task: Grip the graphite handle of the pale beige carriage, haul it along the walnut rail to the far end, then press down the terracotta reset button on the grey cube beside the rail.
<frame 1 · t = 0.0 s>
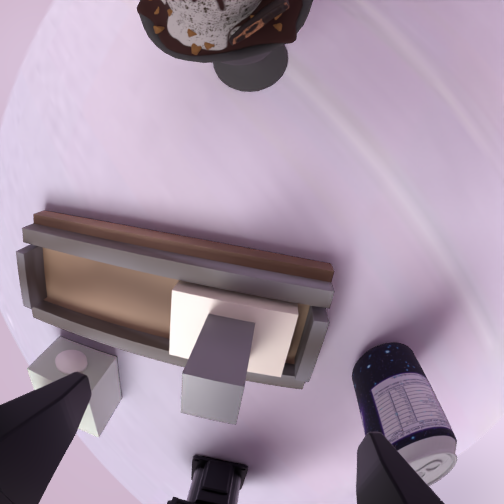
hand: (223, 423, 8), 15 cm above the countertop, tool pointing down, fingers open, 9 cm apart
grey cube: (90, 368, 28), on the countertop
rail: (161, 293, 24), on the countertop
sundae: (249, 59, 18), on the countertop
carriage: (223, 355, 18), point 6 cm above the countertop, slide at 0.0 cm
beverage can: (381, 362, 24), on the countertop
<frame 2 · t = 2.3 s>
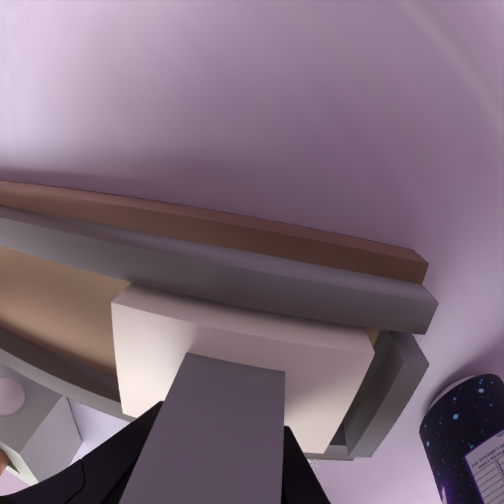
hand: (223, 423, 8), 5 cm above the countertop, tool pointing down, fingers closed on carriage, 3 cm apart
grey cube: (37, 401, 17), on the countertop
rail: (114, 304, 13), on the countertop
carriage: (218, 442, 8), point 6 cm above the countertop, slide at 0.0 cm, touching gripper
beverage can: (456, 400, 14), on the countertop
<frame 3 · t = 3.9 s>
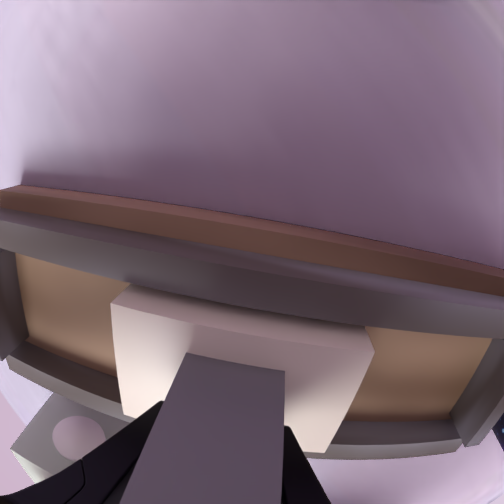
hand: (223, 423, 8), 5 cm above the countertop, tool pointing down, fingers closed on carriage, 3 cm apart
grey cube: (107, 434, 17), on the countertop
rail: (246, 335, 13), on the countertop
carriage: (219, 442, 8), point 6 cm above the countertop, slide at 6.1 cm, touching gripper
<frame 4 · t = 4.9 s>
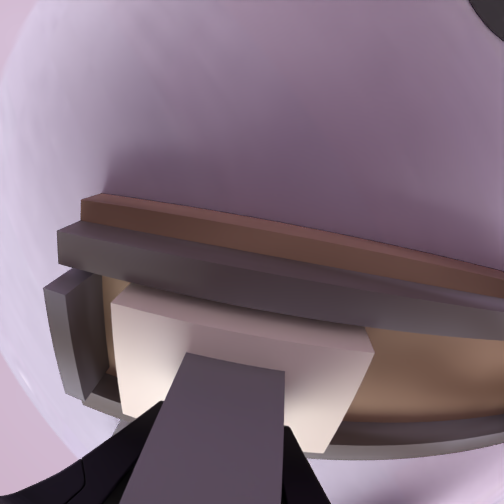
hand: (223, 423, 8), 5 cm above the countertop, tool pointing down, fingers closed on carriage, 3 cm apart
rail: (361, 352, 13), on the countertop
sundae: (498, 5, 7), on the countertop
carriage: (218, 442, 8), point 6 cm above the countertop, slide at 11.3 cm, touching gripper
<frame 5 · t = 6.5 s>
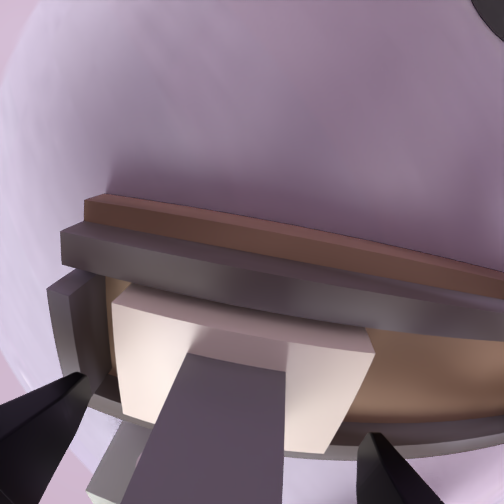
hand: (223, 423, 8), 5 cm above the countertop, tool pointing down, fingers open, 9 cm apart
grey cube: (179, 457, 17), on the countertop
rail: (364, 353, 13), on the countertop
sundae: (501, 7, 7), on the countertop
carriage: (219, 443, 8), point 6 cm above the countertop, slide at 11.4 cm
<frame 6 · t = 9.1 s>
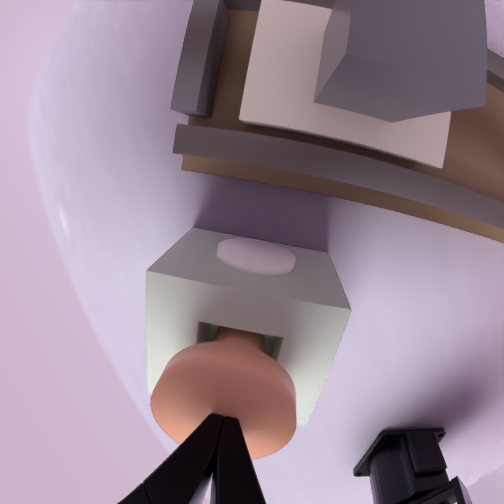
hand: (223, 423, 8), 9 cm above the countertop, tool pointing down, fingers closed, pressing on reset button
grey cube: (250, 293, 17), on the countertop
reset button: (232, 373, 10), point 7 cm above the countertop, slide at 1.2 cm, touching gripper
rail: (439, 123, 13), on the countertop
carriage: (374, 61, 8), point 6 cm above the countertop, slide at 11.4 cm
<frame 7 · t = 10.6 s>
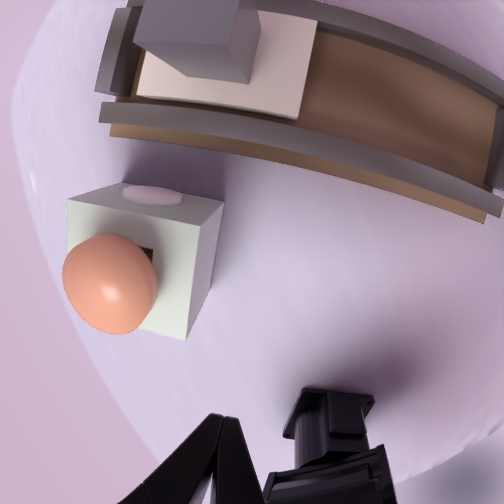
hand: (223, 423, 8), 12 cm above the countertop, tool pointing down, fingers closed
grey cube: (164, 236, 20), on the countertop
reset button: (124, 270, 14), point 6 cm above the countertop, slide at 2.1 cm
rail: (327, 88, 16), on the countertop
carriage: (215, 39, 11), point 6 cm above the countertop, slide at 11.4 cm
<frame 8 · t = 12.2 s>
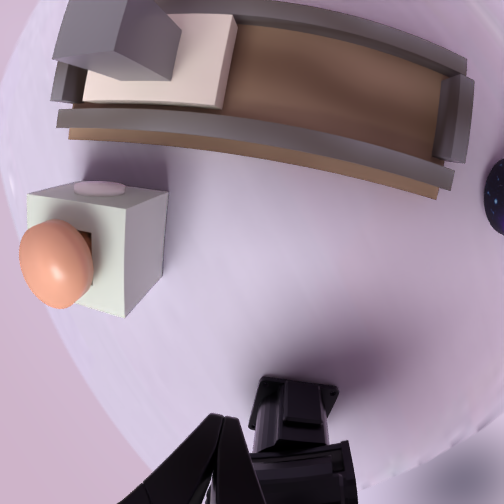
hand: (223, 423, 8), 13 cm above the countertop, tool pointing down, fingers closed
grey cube: (119, 227, 21), on the countertop
reset button: (72, 253, 15), point 6 cm above the countertop, slide at 2.1 cm
rail: (258, 77, 17), on the countertop
carriage: (134, 45, 12), point 6 cm above the countertop, slide at 11.4 cm
beverage can: (502, 194, 17), on the countertop
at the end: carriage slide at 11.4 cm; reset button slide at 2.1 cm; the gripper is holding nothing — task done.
